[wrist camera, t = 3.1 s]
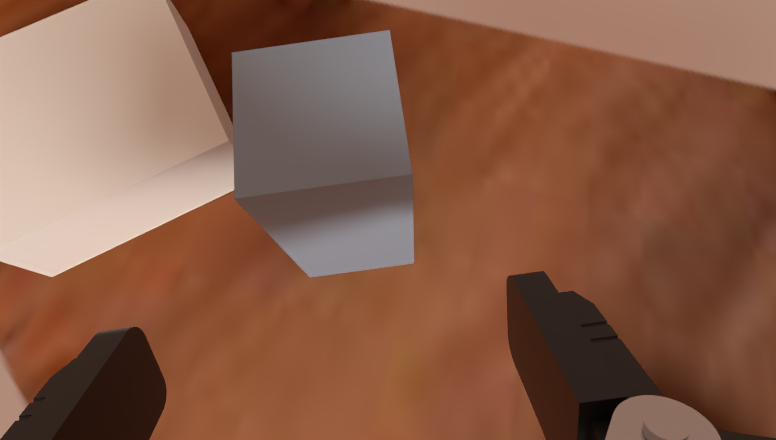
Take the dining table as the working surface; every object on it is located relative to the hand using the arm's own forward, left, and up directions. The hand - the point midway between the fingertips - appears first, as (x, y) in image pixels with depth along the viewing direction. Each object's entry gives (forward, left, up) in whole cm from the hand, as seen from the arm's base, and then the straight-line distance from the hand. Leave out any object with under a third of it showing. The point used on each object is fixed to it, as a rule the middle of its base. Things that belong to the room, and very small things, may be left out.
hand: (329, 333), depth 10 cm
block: (-2, -6, -11) cm, 13 cm away
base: (+7, -16, -11) cm, 21 cm away
